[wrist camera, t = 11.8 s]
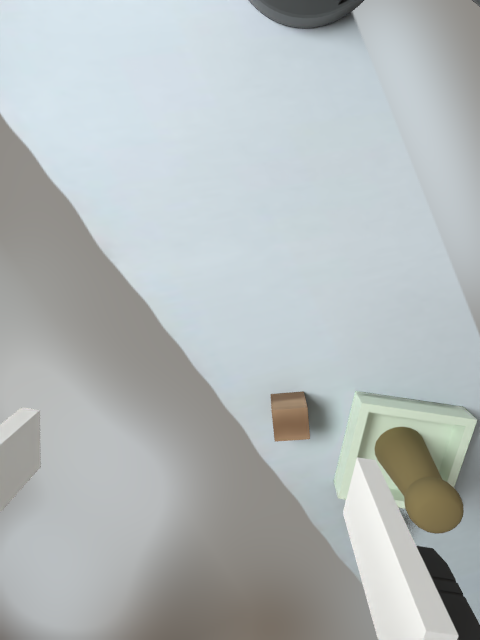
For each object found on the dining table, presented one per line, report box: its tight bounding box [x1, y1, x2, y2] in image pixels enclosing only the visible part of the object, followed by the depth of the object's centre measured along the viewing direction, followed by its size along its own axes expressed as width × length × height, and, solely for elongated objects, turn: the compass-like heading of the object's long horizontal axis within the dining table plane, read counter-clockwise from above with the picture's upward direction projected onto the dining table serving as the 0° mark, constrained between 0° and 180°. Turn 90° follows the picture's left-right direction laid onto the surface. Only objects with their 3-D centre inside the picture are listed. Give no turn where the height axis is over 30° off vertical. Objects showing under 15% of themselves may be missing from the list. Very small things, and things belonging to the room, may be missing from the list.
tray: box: [334, 391, 477, 508], centre depth 45 cm, size 13×13×3 cm
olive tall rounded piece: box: [374, 427, 463, 533], centre depth 40 cm, size 6×6×11 cm
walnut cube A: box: [271, 392, 310, 441], centre depth 44 cm, size 4×4×4 cm
